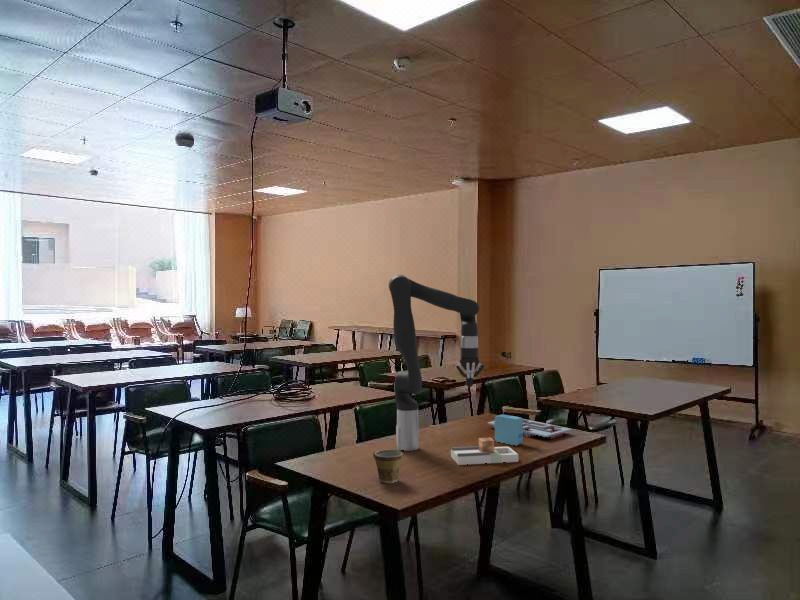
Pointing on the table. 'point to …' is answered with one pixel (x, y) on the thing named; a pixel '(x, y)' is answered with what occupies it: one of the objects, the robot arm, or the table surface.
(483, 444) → the terracotta cube
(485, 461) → the tray
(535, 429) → the maze game
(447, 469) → the table surface
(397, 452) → the ceramic cup
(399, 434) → the robot arm
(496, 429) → the blue square slab
